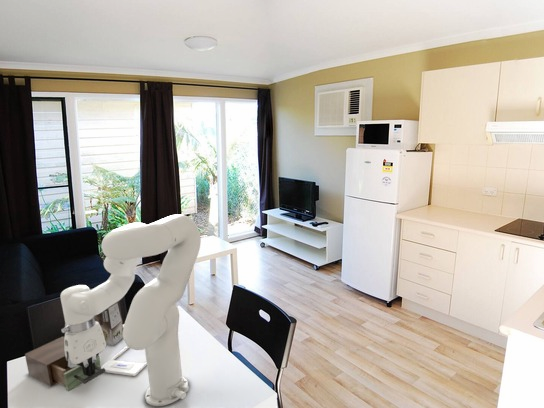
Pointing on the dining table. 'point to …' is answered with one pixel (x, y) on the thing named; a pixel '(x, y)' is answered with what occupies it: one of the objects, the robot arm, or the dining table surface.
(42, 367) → the cabinet
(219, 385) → the dining table surface
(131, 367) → the photo frame
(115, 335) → the coffee box
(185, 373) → the dining table surface
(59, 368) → the drawer
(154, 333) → the robot arm
